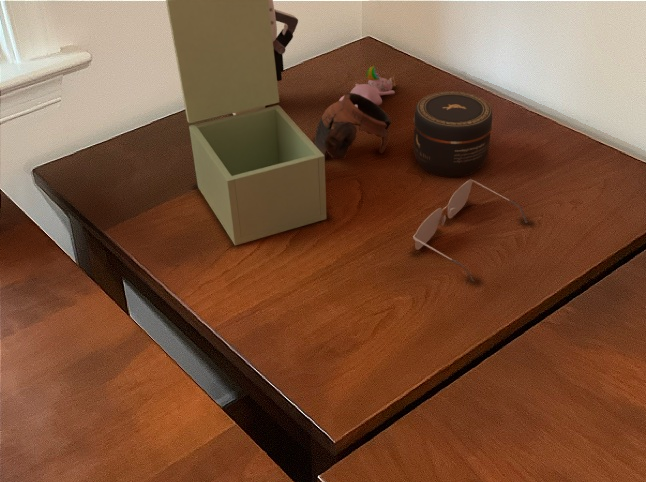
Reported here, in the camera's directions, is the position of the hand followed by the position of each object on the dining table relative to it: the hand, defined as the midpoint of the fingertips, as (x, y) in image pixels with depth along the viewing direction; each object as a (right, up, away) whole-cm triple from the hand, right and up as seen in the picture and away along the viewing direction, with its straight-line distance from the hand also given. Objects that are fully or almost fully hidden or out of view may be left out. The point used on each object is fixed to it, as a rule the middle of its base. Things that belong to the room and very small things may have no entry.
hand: (244, 84), depth 118 cm
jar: (+28, -12, -9) cm, 32 cm away
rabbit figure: (+18, -3, +2) cm, 18 cm away
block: (0, -3, +2) cm, 4 cm away
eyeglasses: (+29, -23, -23) cm, 44 cm away
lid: (+1, -1, -22) cm, 22 cm away
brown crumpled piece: (+15, -11, -8) cm, 20 cm away
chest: (+4, -18, -17) cm, 25 cm away
